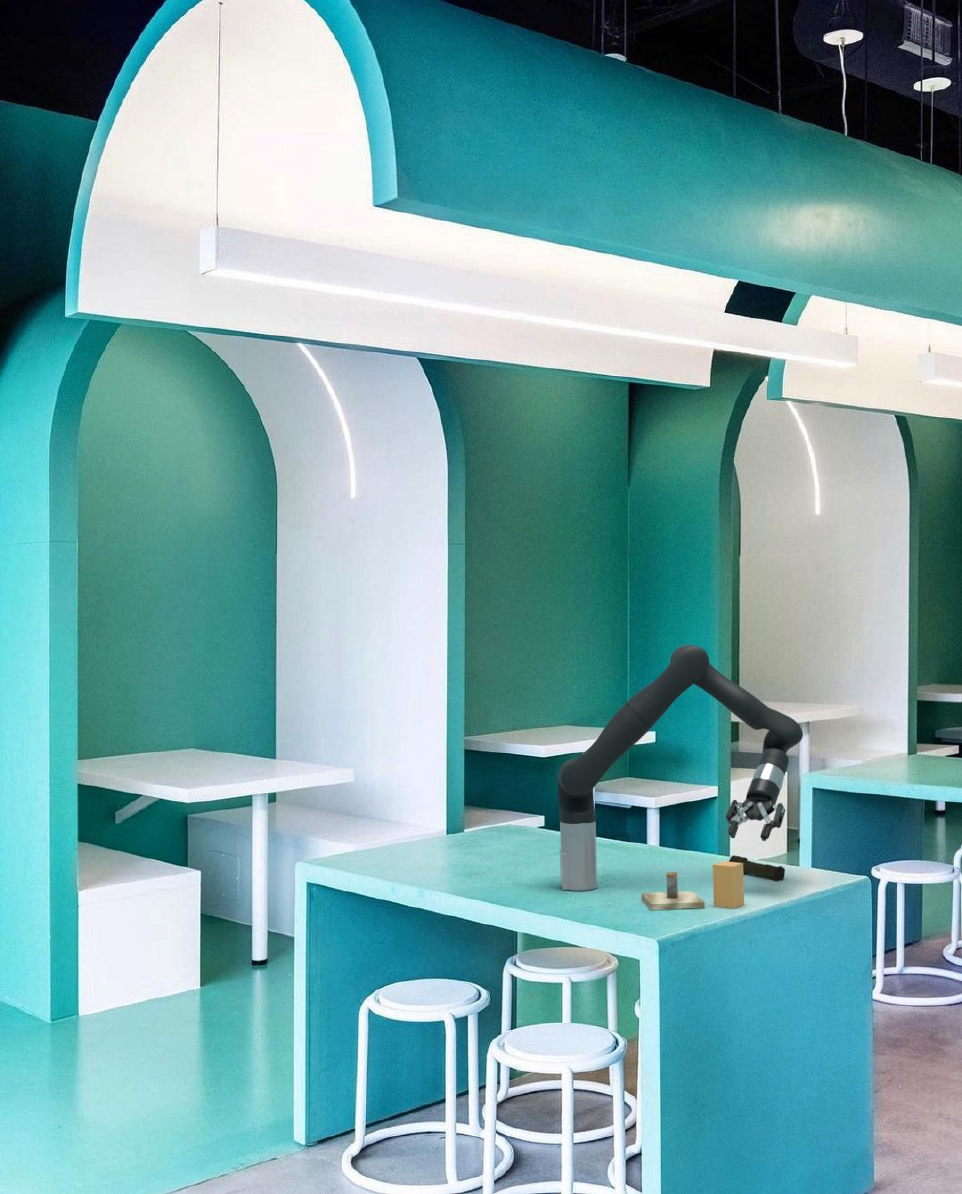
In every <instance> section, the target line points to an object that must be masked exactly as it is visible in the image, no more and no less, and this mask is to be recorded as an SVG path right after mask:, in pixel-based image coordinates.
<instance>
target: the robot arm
mask: <svg viewBox="0 0 962 1194" xmlns="http://www.w3.org/2000/svg"><path fill="white" fill-rule="evenodd" d="M669 661H670V662H669V664H668V666H666V668H665V669H664V670H663V671H662V672H661V673H660V675H659V676H658V677H657V678H656V679H655V680H653V681H652V682H650V683H649V684H648V685H646V686H645V687H643V688H642V689H641V690H639V691H638V692H636V694H635V695H633V696H632V697H631V698H629V699H628V700H627V701H626V702H625V703H624V704H623V705H622V706H621V707H620V708H619V709H618V710H617V712H616V713H614V715H613V716H611V718H610V719H609V721H608V722H607V724H606V725H605V726H604V728H603V730H602V731H601V733H599V736H598V737H597V738H596V740H594V742H593V744H592V745H590V747H589V748H587V749H586V750H585V751H584V752H583V753H582V754H581V755H580V756H578V757H577V758H571V759H568V760H566V761H565V762H563V763H562V764H561V765H560V767H559V770H558V773H557V792H558V795H557V796H558V797H557V798H558V811H559V827H560V828H559V829H560V830H559V834H560V849H559V869H560V870H559V872H560V873H559V874H560V875H559V879H560V880H559V881H560V887H561V889H562V890H563V891H577V892H578V891H579V892H580V891H591V890H594V889H597V888H598V871H597V870H598V869H597V868H598V867H597V865H598V864H597V863H598V862H597V833H596V831H597V828H596V827H597V826H596V824H597V823H596V809H595V801H594V788H595V787H596V786H597V784H598V783H599V782H600V780H601V779H602V778H603V777H604V775H606V773H607V772H608V770H609V769H610V768H611V767H612V766H613V765H614V764H615V763H616V762H617V761H618V760H619V759H620V758H621V757H622V756H623V755H625V754H626V753H627V752H629V750H630V749H631V748H633V747H634V745H636V743H638V742H639V741H640V740H641V739H642V738H643V737H644V736H645V735H646V734H647V733H648V732H649V731H650V730H651V729H652V728H653V727H654V726H655V725H656V723H657V722H658V721H659V720H660V719H661V718H662V716H664V714H665V713H666V712H667V710H668V709H670V707H671V706H672V704H674V702H675V701H676V700H677V699H678V698H679V697H680V696H681V695H682V694H683V693H684V692H685V691H687V690H688V689H689V688H691V687H692V686H693V685H695V686H696V687H698V688H700V689H701V690H703V691H704V692H706V693H707V694H709V695H710V696H711V697H713V698H714V699H715V700H716V701H717V702H718V703H720V704H721V705H722V706H724V707H725V708H726V709H727V710H728V711H730V712H731V713H732V714H733V715H735V716H736V717H737V718H738V719H739V720H740V721H742V722H744V723H745V725H747V726H749V728H751V729H753V730H754V731H755V730H756V731H759V730H767V732H766V734H765V736H764V739H763V743H762V755H761V758H760V760H759V764H758V766H757V768H756V770H755V771H754V773H753V776H752V779H751V782H750V784H749V787H748V790H747V792H746V797H745V800H743V802H738V801H737V799H733V800H732V801H731V803H730V806H729V808H728V811H727V812H726V815H725V819H726V821H727V822H728V824H729V828H728V830H727V831H728V832H727V833H728V835H729V837H730V838H731V839H735V838H736V835H737V832H738V830H739V826H740V825H741V824H743V823H747V822H748V821H749V820H750V821H759V822H760V821H761V822H762V820H764V821H765V823H764V824H763V827H762V831H761V832H760V840H761V841H762V842H766V841H767V840H768V839H769V838H770V836H771V832H772V831H773V829H774V828H775V829H776V828H777V829H780V828H781V827H782V824H783V821H784V817H785V813H786V808H785V807H784V805H783V803H782V802H779V803H778V804H776V803H777V800H778V798H779V796H780V793H781V790H782V787H783V783H784V778H785V776H786V772H787V769H788V767H789V761H790V759H789V756H788V754H787V753H788V751H789V750H791V748H793V747H794V746H796V745H798V744H799V743H801V741H802V740H803V738H804V737H803V736H804V732H803V729H802V727H801V725H800V724H799V723H798V722H797V720H795V719H794V718H792V717H790V716H788V715H786V714H784V713H783V712H780V711H778V710H775V709H774V708H770V707H769V706H767V704H765V703H764V702H762V701H761V700H760V699H759V698H757V697H756V696H755V695H753V693H751V692H749V691H748V690H747V689H746V688H743V687H742V686H740V684H739V685H738V684H737V683H736V682H734V681H732V680H731V679H729V678H728V677H726V676H725V675H723V674H722V672H719V670H718V669H716V667H714V666H713V665H712V664H711V663H710V658H709V655H708V653H707V651H706V650H705V649H704V648H703V647H700V646H699V645H695V644H685V645H681V646H679V647H677V648H676V649H675V650H674V651H673V652H672V654H671V655H670V660H669ZM773 812H775V813H774V815H773V816H774V817H773V820H771V819H770V815H771V814H772V813H773ZM744 814H745V816H744Z"/></svg>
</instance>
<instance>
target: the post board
mask: <svg viewBox="0 0 962 1194" xmlns="http://www.w3.org/2000/svg"><path fill="white" fill-rule="evenodd" d="M665 876H666V891H662V892H641V900H642V901H643V903H644V904H645V906H647V908H648V909H649V910H650V911H668V910H667V909H677V910H682V909H681V908H704V909H705V908H706V907H705V904H706V903H705V901H704V900H703V899H702V898H701V897H700V896H699V895H698V894H697V893H696V892H694V890H693V891H692V890H691V891H689V890H688V891H678V889H679V888H678V872H676V871H669V872H666V875H665ZM679 908H680V909H679Z"/></svg>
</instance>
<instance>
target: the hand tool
mask: <svg viewBox="0 0 962 1194" xmlns="http://www.w3.org/2000/svg"><path fill="white" fill-rule="evenodd" d="M728 862H736V863H743V875H745V874H749V875H754V876H759V877H764V878H767V879H770V880H772V879H773V880H774V881H775V882H779V881H778V880H781V881H784V879H785V875H786V869H785V868H784V867H783V865H779V866H775V865H771V864H768V863H767V864H764V863H760V862H755V861H750V860H748V857H745V856H743V857H742V856H739V855H734V854H733V855H731V856H730V858H729V860H728Z"/></svg>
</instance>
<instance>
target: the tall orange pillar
mask: <svg viewBox="0 0 962 1194" xmlns="http://www.w3.org/2000/svg"><path fill="white" fill-rule="evenodd" d="M744 885H745V881H744V874H743V863H736V862H729V861H725V860H723V861H720V862H717V863H714V864H712V886H713V887H712V890H713V891H712V893H713V907H716V906H721V907H720V908H725V907H727V908H728V909H733V908H734V909H737V908H739V907H741V905H742V906H743V904H744V905H745V887H744ZM736 907H737V908H736Z"/></svg>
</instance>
